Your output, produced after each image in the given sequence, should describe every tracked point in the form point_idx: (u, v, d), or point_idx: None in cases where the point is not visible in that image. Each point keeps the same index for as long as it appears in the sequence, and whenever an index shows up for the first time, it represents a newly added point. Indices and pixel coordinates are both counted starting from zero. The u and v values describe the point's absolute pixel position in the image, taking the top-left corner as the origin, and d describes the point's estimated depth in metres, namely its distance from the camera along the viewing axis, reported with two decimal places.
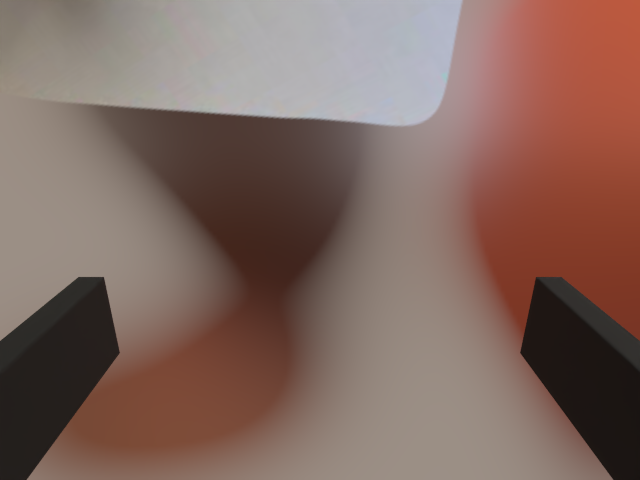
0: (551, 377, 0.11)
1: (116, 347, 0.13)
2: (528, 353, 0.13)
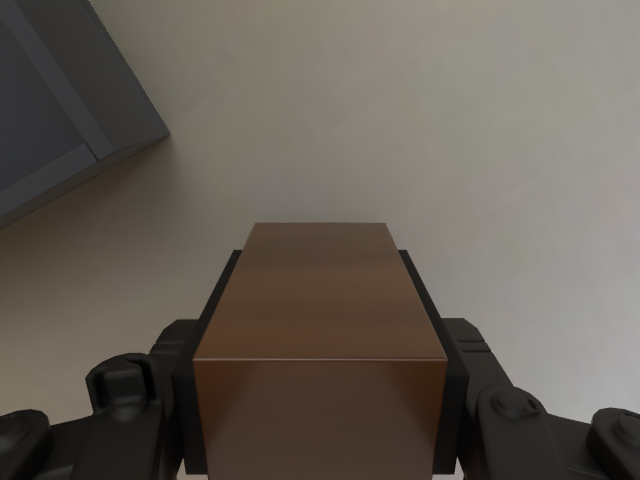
0: None
1: None
2: None
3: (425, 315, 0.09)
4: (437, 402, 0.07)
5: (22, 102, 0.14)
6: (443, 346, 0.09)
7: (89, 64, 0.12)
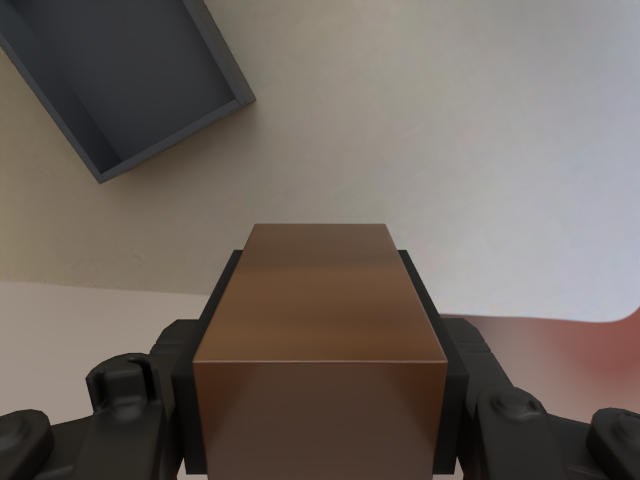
0: None
1: None
2: None
3: (425, 317, 0.09)
4: (437, 404, 0.07)
5: (193, 84, 0.33)
6: (443, 346, 0.09)
7: (233, 68, 0.30)
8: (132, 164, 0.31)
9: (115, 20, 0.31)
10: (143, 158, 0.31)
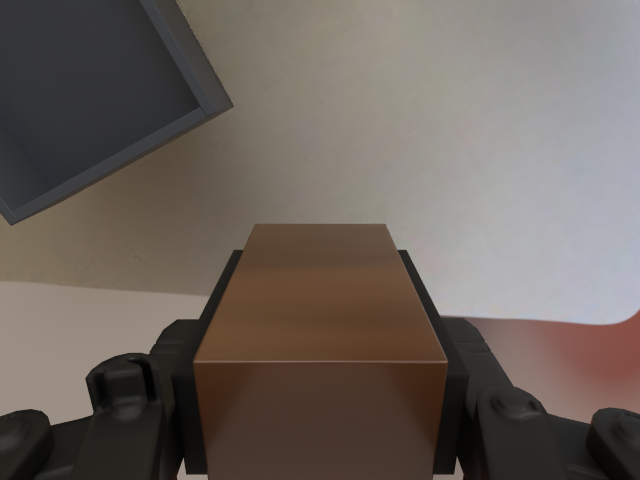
0: None
1: None
2: None
3: (425, 317, 0.09)
4: (437, 404, 0.07)
5: (146, 85, 0.24)
6: (443, 346, 0.09)
7: (198, 63, 0.21)
8: (55, 198, 0.22)
9: None
10: (70, 190, 0.22)
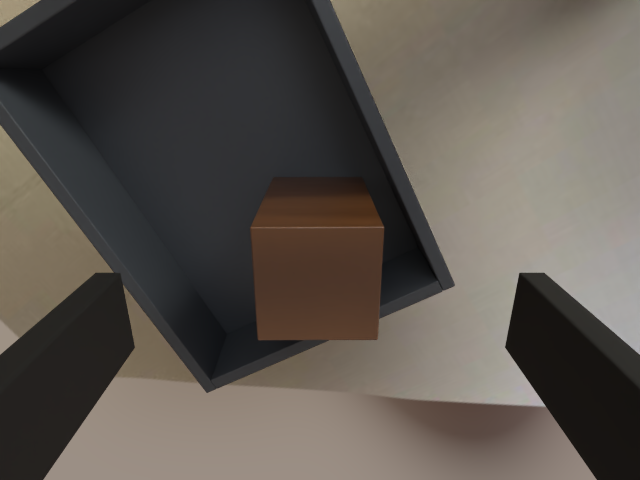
0: (533, 370, 0.12)
1: (131, 341, 0.13)
2: (512, 347, 0.13)
3: (376, 213, 0.15)
4: (379, 252, 0.14)
5: None
6: None
7: None
8: (261, 368, 0.20)
9: (233, 143, 0.20)
10: (278, 360, 0.20)
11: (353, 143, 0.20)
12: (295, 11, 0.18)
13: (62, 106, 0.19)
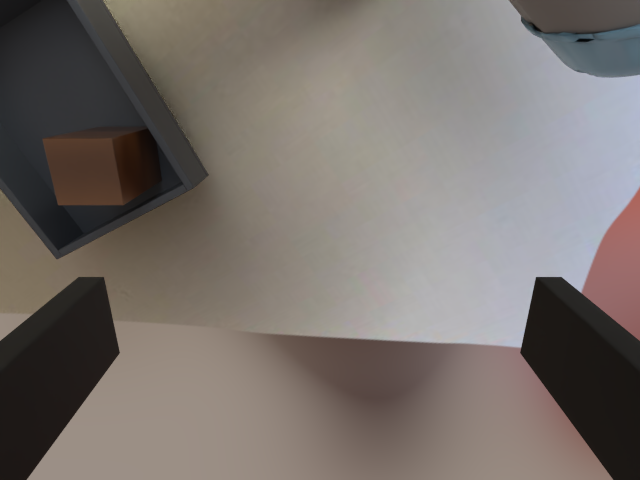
0: (551, 377, 0.11)
1: (116, 347, 0.13)
2: (528, 353, 0.13)
3: (120, 135, 0.28)
4: (112, 152, 0.27)
5: None
6: None
7: (182, 154, 0.32)
8: (87, 242, 0.33)
9: (72, 105, 0.33)
10: (97, 236, 0.33)
11: None
12: None
13: None
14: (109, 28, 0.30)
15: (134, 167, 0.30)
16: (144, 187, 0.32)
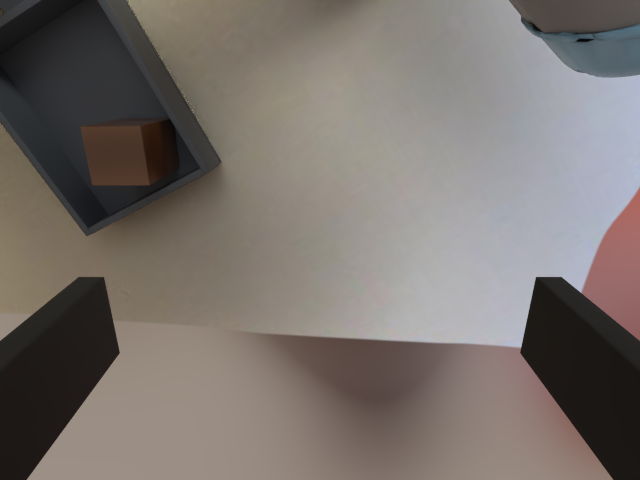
0: (551, 377, 0.11)
1: (116, 347, 0.13)
2: (528, 353, 0.13)
3: (146, 124, 0.32)
4: (140, 138, 0.31)
5: None
6: None
7: (199, 141, 0.36)
8: (114, 220, 0.37)
9: (100, 99, 0.37)
10: (123, 215, 0.37)
11: None
12: None
13: (6, 77, 0.36)
14: (135, 30, 0.34)
15: (157, 153, 0.34)
16: (166, 171, 0.36)
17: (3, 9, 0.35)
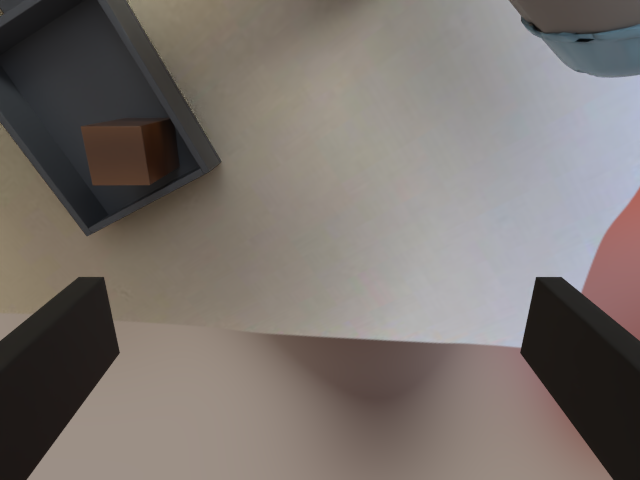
0: (551, 377, 0.11)
1: (116, 347, 0.13)
2: (528, 353, 0.13)
3: (147, 124, 0.32)
4: (140, 138, 0.31)
5: None
6: None
7: (199, 141, 0.36)
8: (114, 220, 0.37)
9: (100, 99, 0.37)
10: (123, 215, 0.37)
11: None
12: None
13: (6, 77, 0.36)
14: (135, 30, 0.34)
15: (158, 153, 0.34)
16: (166, 170, 0.36)
17: (3, 9, 0.35)
